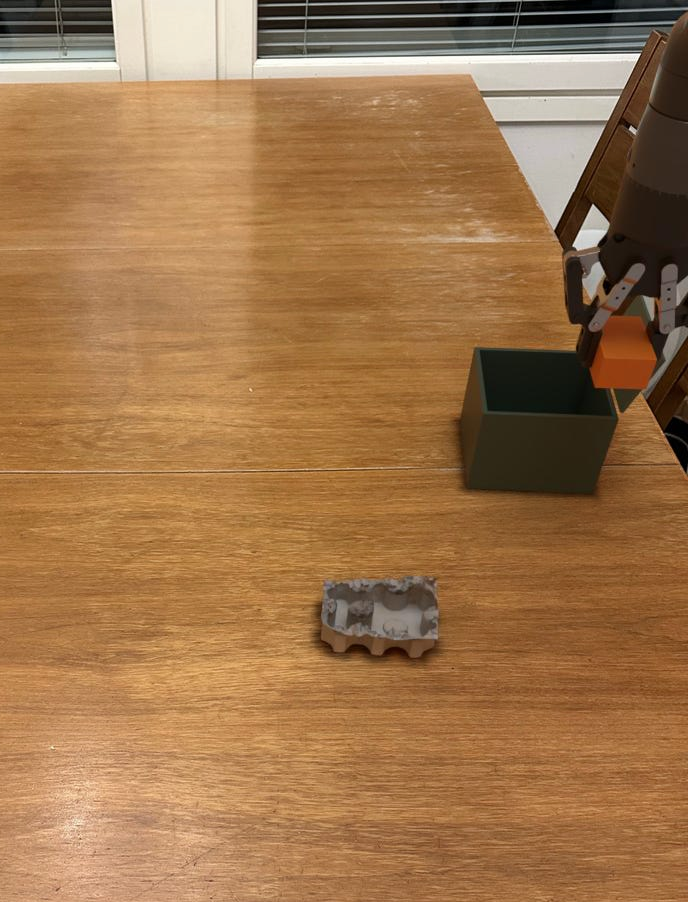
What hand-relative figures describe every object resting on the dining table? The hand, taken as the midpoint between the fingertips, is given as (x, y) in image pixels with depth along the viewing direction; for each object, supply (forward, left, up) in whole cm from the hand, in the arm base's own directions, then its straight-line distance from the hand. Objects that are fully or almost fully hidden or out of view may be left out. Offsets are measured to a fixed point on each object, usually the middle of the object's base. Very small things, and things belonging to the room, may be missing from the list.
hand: (614, 363), depth 88 cm
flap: (-4, -9, -4) cm, 11 cm away
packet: (0, 0, 0) cm, 0 cm away
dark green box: (+3, -9, -17) cm, 20 cm away
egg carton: (+19, +18, -18) cm, 32 cm away
